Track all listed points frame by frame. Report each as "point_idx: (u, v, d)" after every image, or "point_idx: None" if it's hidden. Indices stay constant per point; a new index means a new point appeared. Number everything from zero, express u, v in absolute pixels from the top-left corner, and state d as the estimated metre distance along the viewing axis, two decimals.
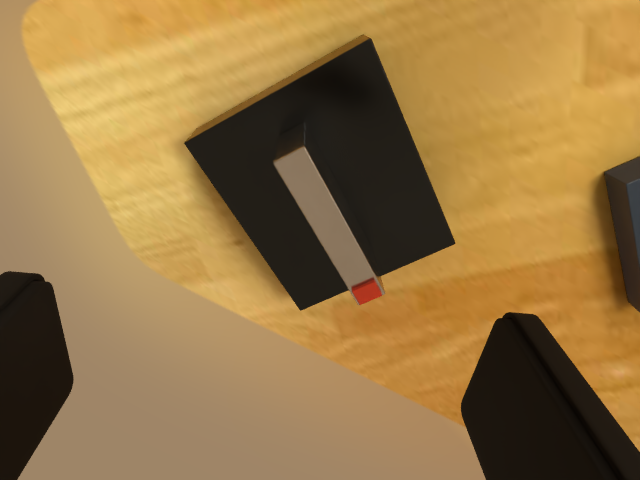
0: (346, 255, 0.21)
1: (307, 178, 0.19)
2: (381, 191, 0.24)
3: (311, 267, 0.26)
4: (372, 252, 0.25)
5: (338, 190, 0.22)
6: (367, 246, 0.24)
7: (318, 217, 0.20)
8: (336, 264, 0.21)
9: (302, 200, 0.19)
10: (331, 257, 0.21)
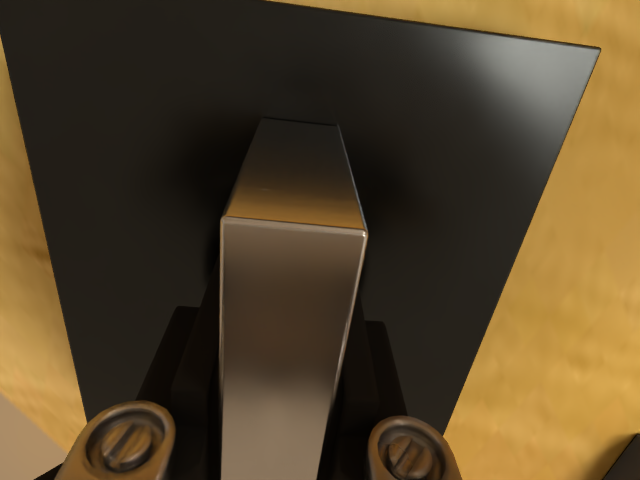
0: None
1: (304, 326, 0.05)
2: None
3: None
4: None
5: None
6: None
7: (255, 430, 0.06)
8: None
9: (241, 371, 0.05)
10: None
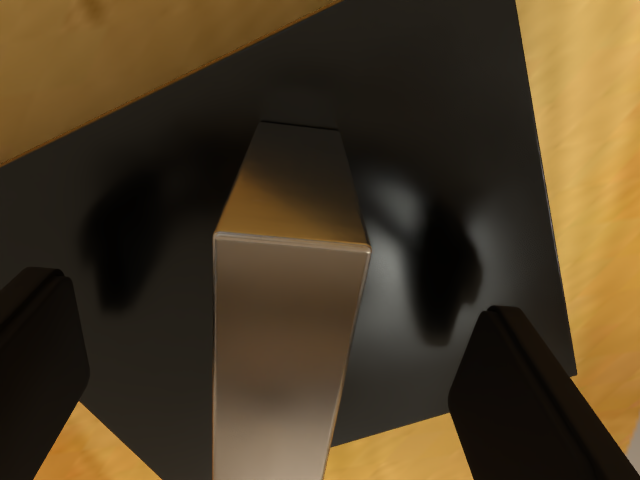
0: None
1: (303, 347, 0.05)
2: None
3: (68, 261, 0.09)
4: None
5: None
6: None
7: (251, 453, 0.06)
8: None
9: (236, 393, 0.05)
10: None
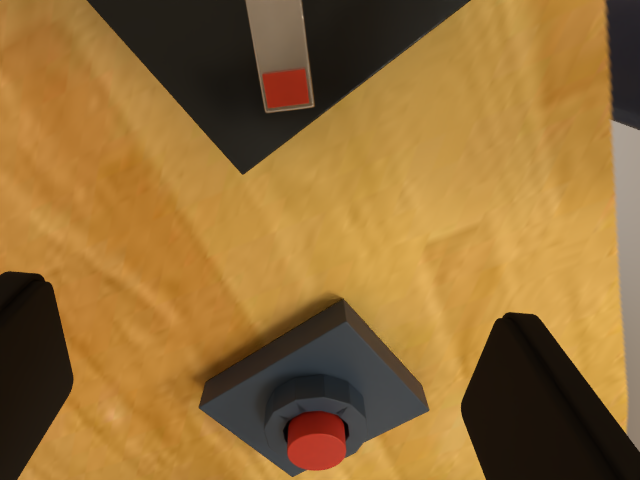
0: None
1: None
2: None
3: None
4: (311, 73, 0.16)
5: None
6: (308, 48, 0.15)
7: None
8: (251, 8, 0.12)
9: None
10: None
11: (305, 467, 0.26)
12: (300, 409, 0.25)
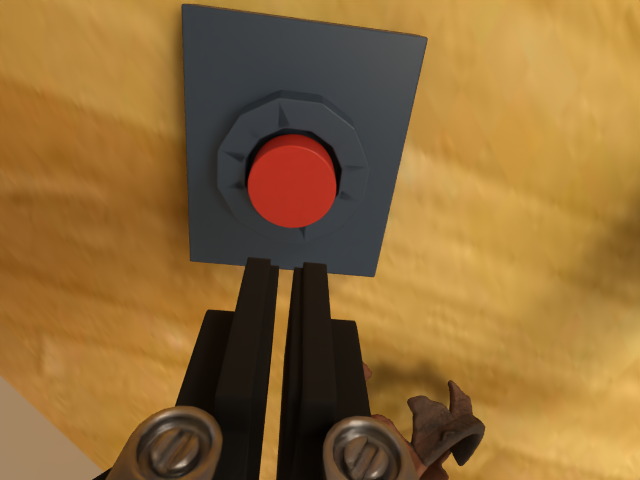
0: None
1: None
2: None
3: None
4: None
5: None
6: None
7: None
8: None
9: None
10: None
11: (305, 221, 0.18)
12: (237, 157, 0.18)
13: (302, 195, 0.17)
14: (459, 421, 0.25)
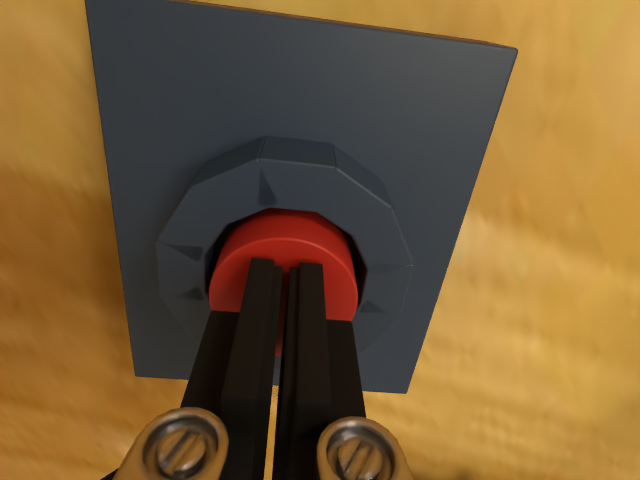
0: None
1: None
2: None
3: None
4: None
5: None
6: None
7: None
8: None
9: None
10: None
11: None
12: (190, 253, 0.10)
13: None
14: None
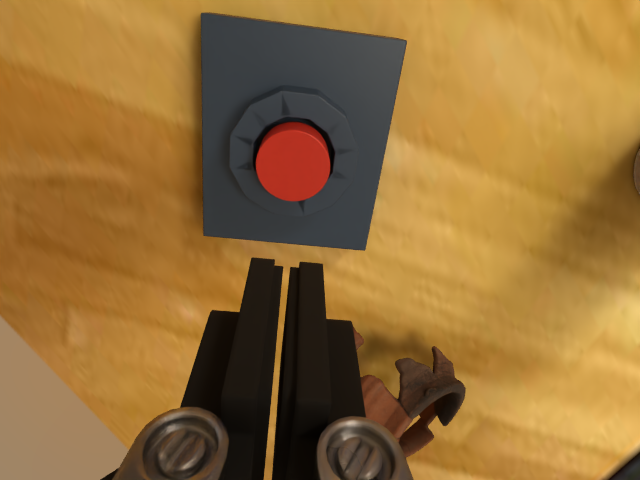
0: None
1: None
2: None
3: None
4: None
5: None
6: None
7: None
8: None
9: None
10: None
11: (304, 195, 0.21)
12: (246, 141, 0.21)
13: (301, 173, 0.20)
14: (441, 380, 0.28)
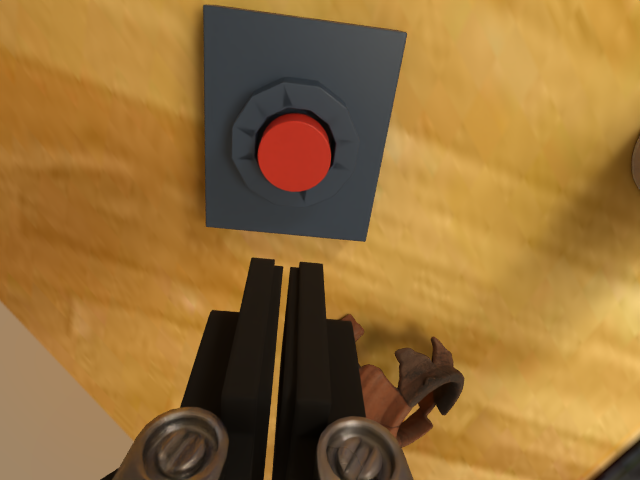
0: None
1: None
2: None
3: None
4: None
5: None
6: None
7: None
8: None
9: None
10: None
11: (305, 186, 0.21)
12: (248, 133, 0.21)
13: (303, 163, 0.21)
14: (440, 370, 0.28)
